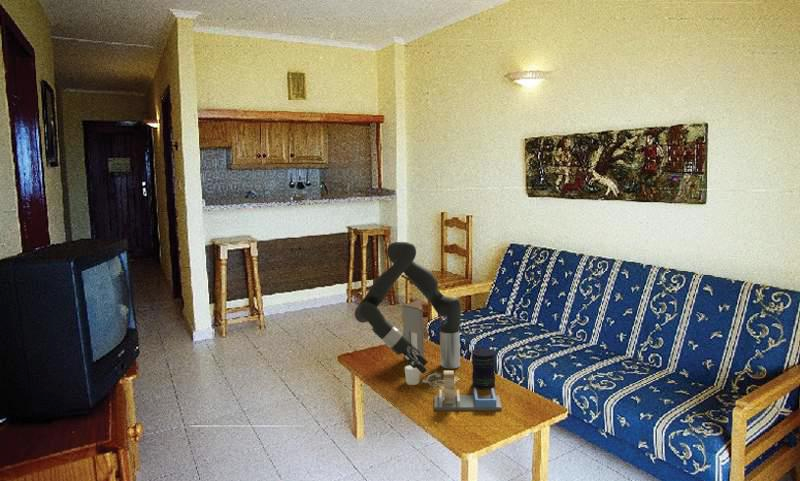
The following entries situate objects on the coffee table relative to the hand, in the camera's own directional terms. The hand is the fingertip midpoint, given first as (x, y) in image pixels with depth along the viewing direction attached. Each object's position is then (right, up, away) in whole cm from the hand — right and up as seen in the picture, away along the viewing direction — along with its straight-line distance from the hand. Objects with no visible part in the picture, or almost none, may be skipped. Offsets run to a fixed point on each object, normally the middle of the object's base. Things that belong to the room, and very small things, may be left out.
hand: (425, 367), depth 212 cm
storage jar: (+26, -12, +19) cm, 34 cm away
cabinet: (-3, -9, +53) cm, 54 cm away
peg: (+10, -14, +1) cm, 17 cm away
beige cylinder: (-4, -13, +24) cm, 28 cm away
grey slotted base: (+17, -15, +1) cm, 22 cm away
